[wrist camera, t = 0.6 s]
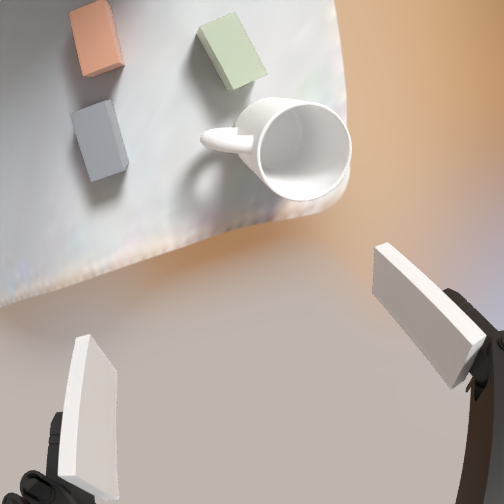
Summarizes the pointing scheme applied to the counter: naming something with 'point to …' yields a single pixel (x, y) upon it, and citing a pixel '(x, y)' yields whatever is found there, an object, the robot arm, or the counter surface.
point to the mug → (288, 146)
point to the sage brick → (231, 51)
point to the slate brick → (100, 140)
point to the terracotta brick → (96, 38)
